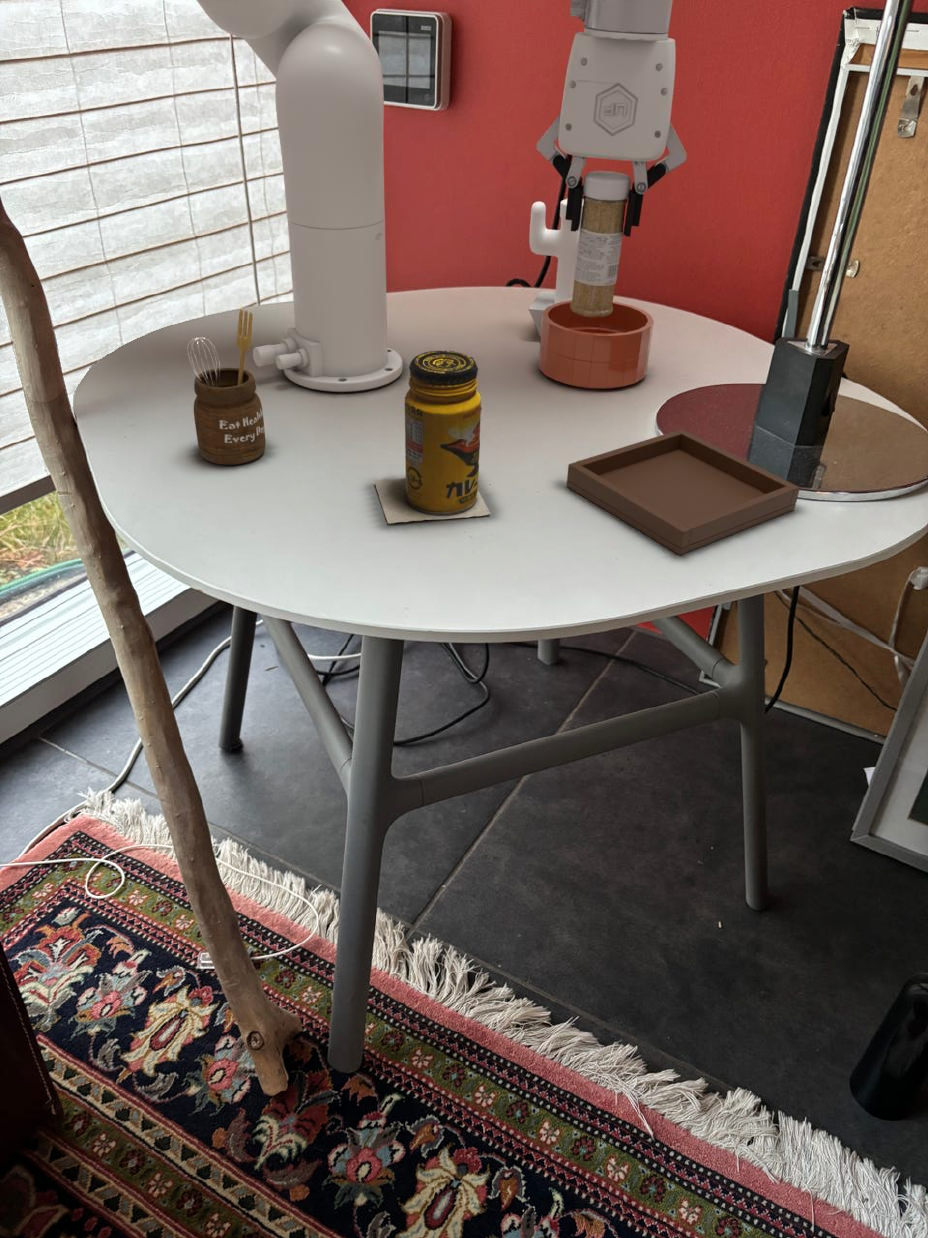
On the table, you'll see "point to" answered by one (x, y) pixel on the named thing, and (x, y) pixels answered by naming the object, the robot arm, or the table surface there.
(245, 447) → the utensil holder
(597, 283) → the sprinkles bottle
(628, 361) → the bowl
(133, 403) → the table surface
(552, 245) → the figurine
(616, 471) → the tray
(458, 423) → the condiment
